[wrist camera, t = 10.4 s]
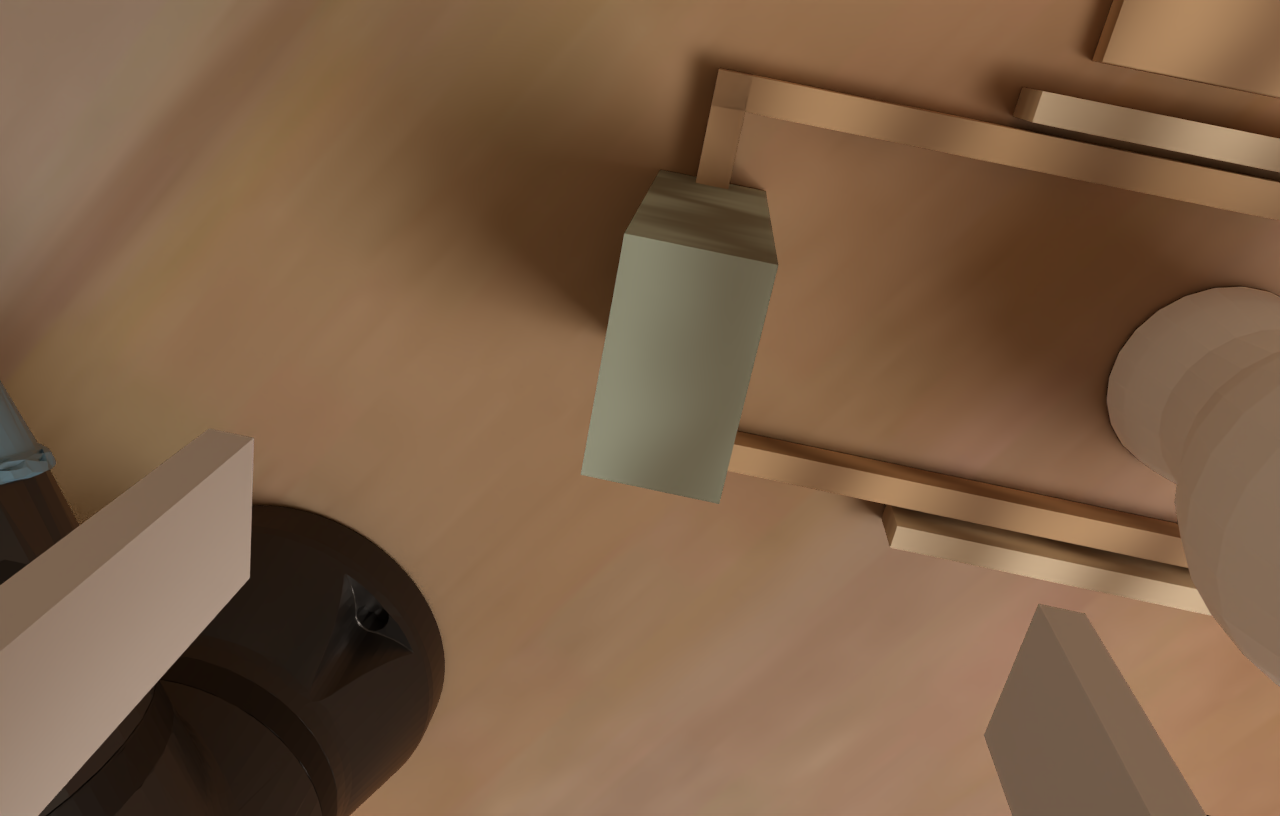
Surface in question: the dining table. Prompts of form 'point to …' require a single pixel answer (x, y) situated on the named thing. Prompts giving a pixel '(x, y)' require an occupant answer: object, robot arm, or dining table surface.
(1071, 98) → the lane rails
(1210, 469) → the cup
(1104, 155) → the rail with green post
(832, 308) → the dining table surface
